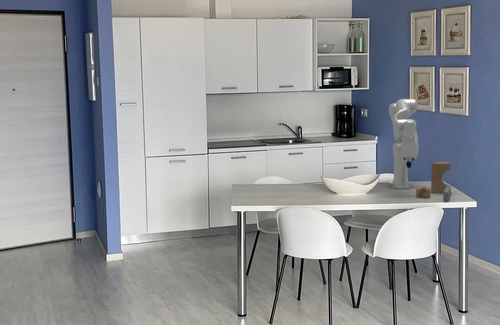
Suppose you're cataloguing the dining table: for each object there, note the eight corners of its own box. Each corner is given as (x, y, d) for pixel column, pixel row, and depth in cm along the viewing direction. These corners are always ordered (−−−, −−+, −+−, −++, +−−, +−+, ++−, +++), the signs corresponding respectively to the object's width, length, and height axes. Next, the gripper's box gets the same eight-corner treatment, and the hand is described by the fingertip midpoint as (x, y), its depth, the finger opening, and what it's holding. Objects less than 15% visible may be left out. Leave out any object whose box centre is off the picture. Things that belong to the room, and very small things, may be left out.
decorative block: (446, 191, 468) (447, 161, 465) (449, 192, 463) (450, 163, 460) (430, 191, 467) (431, 162, 464) (433, 193, 461) (434, 163, 458)
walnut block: (416, 198, 448) (416, 188, 447) (417, 195, 455) (417, 186, 455) (428, 198, 445) (429, 189, 444) (430, 196, 453) (430, 187, 452)
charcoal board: (443, 201, 434) (443, 192, 434) (446, 194, 457) (446, 185, 456) (447, 201, 434) (447, 192, 433) (450, 194, 456) (450, 185, 455)
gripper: (396, 140, 447) (396, 168, 450) (420, 140, 442) (419, 169, 445) (398, 138, 454) (398, 166, 457) (421, 139, 449) (421, 167, 452)
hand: (408, 167), depth 451 cm, fingers closed
